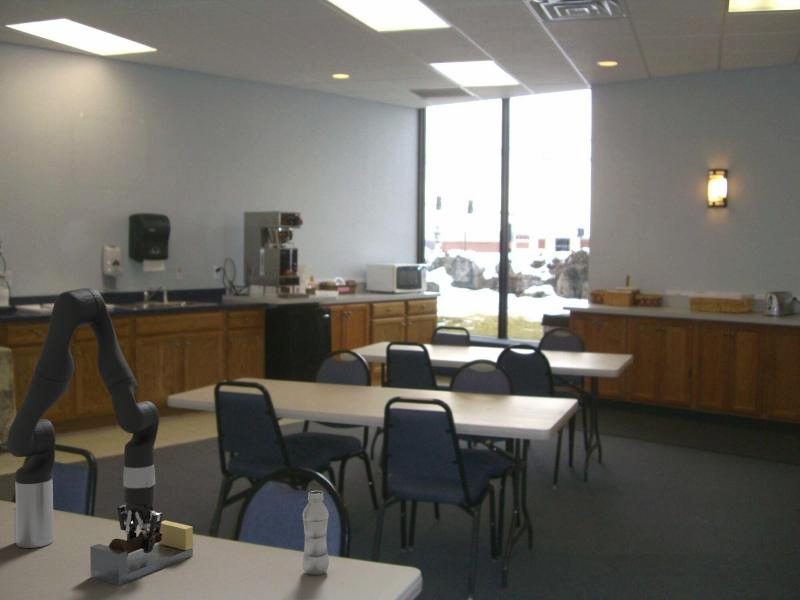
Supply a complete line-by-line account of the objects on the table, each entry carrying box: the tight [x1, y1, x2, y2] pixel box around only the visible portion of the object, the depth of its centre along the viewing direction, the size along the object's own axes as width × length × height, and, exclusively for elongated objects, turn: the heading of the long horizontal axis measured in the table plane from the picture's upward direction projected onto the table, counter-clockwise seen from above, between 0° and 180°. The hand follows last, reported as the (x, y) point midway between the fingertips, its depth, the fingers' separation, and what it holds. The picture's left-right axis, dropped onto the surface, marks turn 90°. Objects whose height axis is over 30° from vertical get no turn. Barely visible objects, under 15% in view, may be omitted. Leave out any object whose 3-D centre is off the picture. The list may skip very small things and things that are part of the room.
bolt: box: [108, 529, 162, 556], centre depth 217 cm, size 6×5×15 cm
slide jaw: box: [157, 520, 194, 550], centre depth 228 cm, size 10×2×6 cm, turn 58°
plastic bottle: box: [302, 490, 330, 576], centre depth 214 cm, size 6×7×20 cm
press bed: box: [89, 543, 194, 586], centre depth 218 cm, size 10×24×8 cm, turn 148°
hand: (140, 549), depth 218 cm, fingers closed on bolt, 5 cm apart
